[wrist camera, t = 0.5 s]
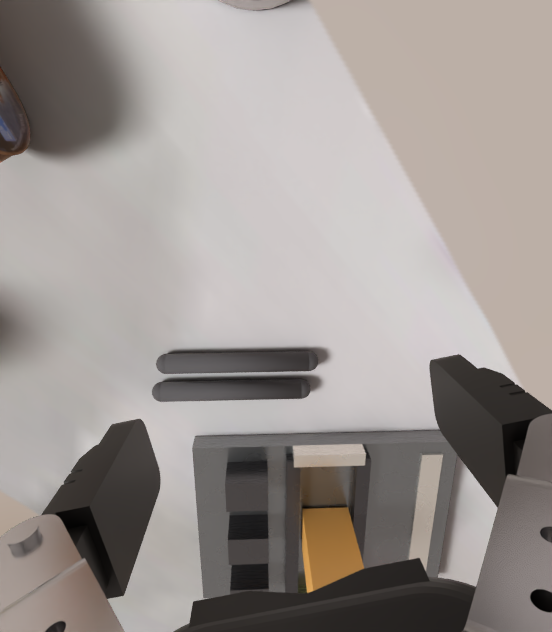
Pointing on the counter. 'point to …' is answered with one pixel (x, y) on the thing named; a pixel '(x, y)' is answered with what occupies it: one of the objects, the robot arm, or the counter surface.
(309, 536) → the toggle
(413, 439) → the panel
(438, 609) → the robot arm
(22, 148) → the tin
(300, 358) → the pair of grey rods
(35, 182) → the counter surface
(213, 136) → the counter surface
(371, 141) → the counter surface
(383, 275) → the counter surface
